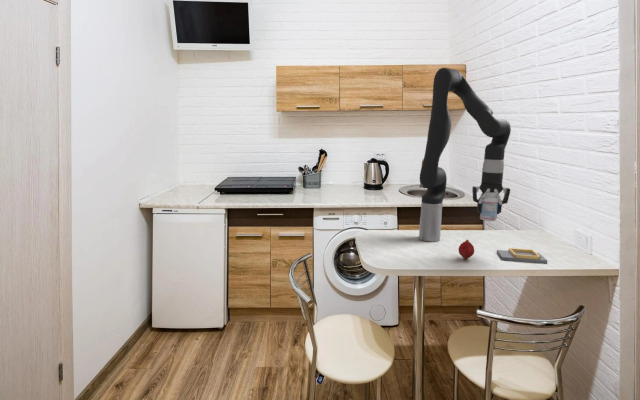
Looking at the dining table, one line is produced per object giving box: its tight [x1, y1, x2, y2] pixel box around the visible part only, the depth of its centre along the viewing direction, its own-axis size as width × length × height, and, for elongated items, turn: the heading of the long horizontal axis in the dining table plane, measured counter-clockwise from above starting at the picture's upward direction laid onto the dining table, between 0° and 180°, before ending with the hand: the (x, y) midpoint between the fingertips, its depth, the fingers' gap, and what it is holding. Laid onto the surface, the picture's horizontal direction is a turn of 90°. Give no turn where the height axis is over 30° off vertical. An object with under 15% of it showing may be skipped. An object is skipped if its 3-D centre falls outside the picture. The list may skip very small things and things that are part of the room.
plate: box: [496, 247, 548, 264], centre depth 159 cm, size 16×10×2 cm, turn 79°
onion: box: [458, 239, 475, 260], centre depth 156 cm, size 6×6×8 cm
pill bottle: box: [479, 192, 498, 222], centre depth 158 cm, size 6×6×11 cm
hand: (488, 213), depth 158 cm, fingers closed on pill bottle, 6 cm apart
